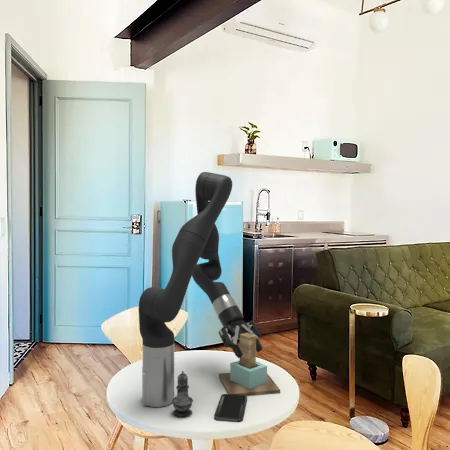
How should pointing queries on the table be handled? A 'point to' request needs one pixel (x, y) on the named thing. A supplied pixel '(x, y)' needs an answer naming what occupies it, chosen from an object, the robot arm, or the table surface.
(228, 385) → the base plate
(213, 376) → the table surface
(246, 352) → the tall wooden block
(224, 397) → the phone
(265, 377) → the teal open box
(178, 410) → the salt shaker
